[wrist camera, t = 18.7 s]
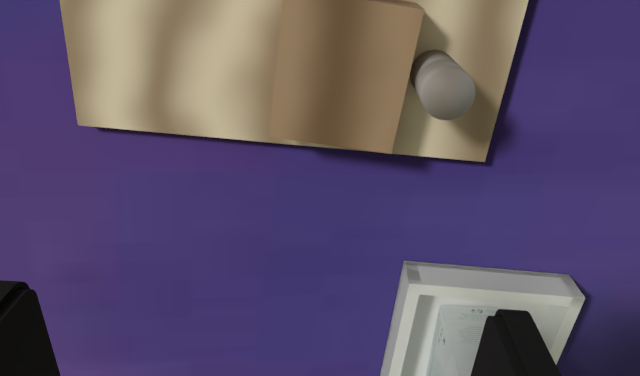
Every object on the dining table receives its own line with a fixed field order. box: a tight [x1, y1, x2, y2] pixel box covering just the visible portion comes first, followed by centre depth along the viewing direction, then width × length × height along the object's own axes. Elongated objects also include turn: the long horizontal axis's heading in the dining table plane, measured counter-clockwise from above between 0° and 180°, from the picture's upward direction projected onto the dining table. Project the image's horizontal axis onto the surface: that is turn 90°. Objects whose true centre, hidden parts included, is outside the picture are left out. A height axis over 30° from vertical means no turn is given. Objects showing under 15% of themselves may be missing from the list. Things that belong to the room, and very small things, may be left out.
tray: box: [380, 261, 585, 376], centre depth 44 cm, size 14×18×3 cm
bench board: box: [60, 0, 529, 162], centre depth 30 cm, size 29×12×6 cm, turn 85°
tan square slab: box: [269, 0, 425, 154], centre depth 31 cm, size 8×9×3 cm
